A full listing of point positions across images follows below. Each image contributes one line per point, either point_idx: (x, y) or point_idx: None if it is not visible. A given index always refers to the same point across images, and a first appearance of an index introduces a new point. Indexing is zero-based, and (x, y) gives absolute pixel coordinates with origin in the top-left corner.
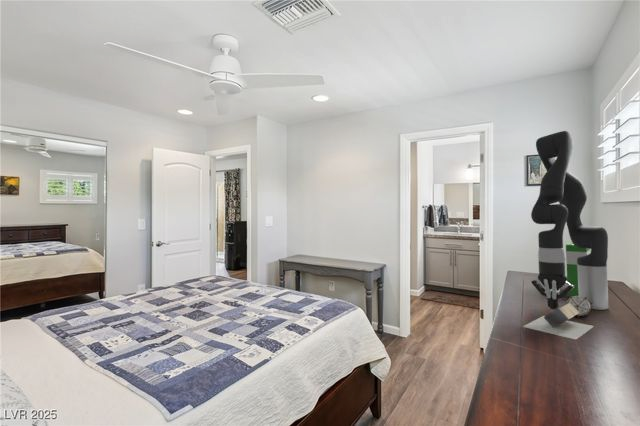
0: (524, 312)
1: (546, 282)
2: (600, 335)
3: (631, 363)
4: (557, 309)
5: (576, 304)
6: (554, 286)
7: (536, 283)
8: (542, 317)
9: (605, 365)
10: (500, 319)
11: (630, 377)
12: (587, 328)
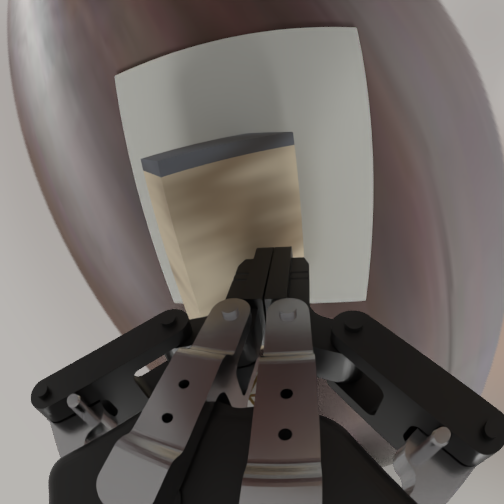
0: (440, 293)
1: (269, 494)
2: (113, 221)
3: (13, 75)
4: (167, 157)
5: (251, 402)
6: (158, 422)
7: (450, 433)
8: (361, 272)
9: (34, 8)
10: (482, 92)
11: (10, 16)
12: (166, 258)
